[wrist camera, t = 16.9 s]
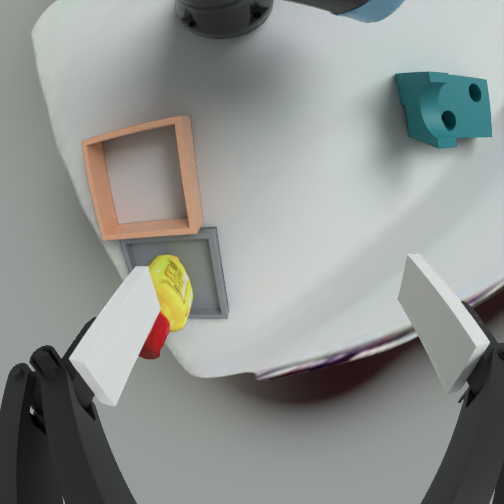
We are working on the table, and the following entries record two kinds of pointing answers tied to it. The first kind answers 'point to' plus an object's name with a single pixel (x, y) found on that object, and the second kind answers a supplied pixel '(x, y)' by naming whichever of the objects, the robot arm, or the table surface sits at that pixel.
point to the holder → (104, 196)
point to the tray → (188, 266)
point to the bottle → (167, 302)
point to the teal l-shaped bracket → (444, 107)
